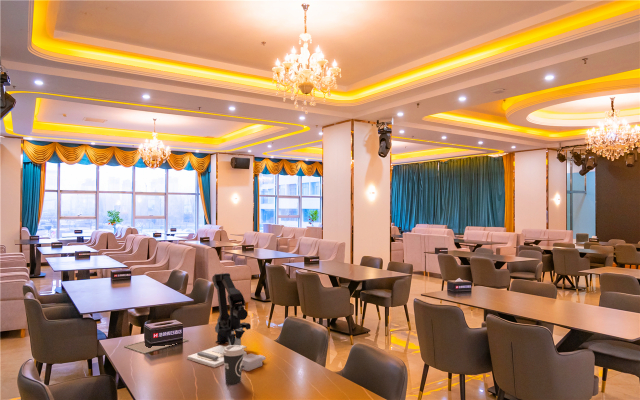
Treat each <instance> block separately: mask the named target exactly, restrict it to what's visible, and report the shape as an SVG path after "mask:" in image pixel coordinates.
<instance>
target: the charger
mask: <svg viewBox="0 0 640 400" xmlns="http://www.w3.org/2000/svg"><path fill="white" fill-rule="evenodd" d="M266 358H267V356H264V355H262V354H258V355H257V354H254V353H248V354H247V355H245V356H243V361H242V371H243V370H244V371H246V372H249V371H252V370H255V369H257V368H260V367H262V366H263V361H266Z"/></svg>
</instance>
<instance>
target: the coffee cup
mask: <svg viewBox="0 0 640 400" xmlns="http://www.w3.org/2000/svg"><path fill="white" fill-rule="evenodd" d="M226 346H227V345H226ZM242 346H243V345H242ZM242 346H240V345H230V346H227V347H225V348H224V350H223V353H222V354H223V355H224V364H223V365H224V377H225V384H226V385H229V386H234V385H238V384H240V383H241V381H242V380H241V379H242V371H243V369H242V361H243V354H244V351H245V348H244V349H243V347H242Z"/></svg>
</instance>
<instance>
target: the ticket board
mask: <svg viewBox="0 0 640 400" xmlns="http://www.w3.org/2000/svg"><path fill="white" fill-rule="evenodd" d="M225 346H226V345H223V344H219V345H216V346H214V347H210V348H207V349H204V350H201V351H198V352H196V353H192V354H189V355H187V360H188V361H193V362H196V363H199V364H201V365H205V366H208V367H211V368H217V367H219V366H222V365H224V355H223V354H222V353H223V350H224V348H223V347H225ZM245 355H248V354H247V351H245V350H244V354H243V356H245Z"/></svg>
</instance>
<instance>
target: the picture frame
mask: <svg viewBox="0 0 640 400" xmlns="http://www.w3.org/2000/svg"><path fill="white" fill-rule="evenodd" d="M144 341H145V340H143V341H138V342H135V343H131V344H128V345H124V346H123V347H124V349H125V348H126V349H129V350H131V351H134V352H137V353H140V354H142V355H146V354H150V353H153V352H156V351H159V350H163V349H166V348H170V347H173V346H176V345H175V344H172V345H173V346H172V345H165V346H152V347H151V348H148V347H146V346H145V343H144ZM183 342H184V343H186V342H189V339H186V338H183ZM176 344H177V343H176ZM177 345H178V344H177ZM169 346H170V347H169Z"/></svg>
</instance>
